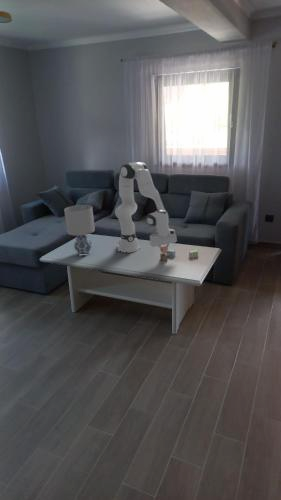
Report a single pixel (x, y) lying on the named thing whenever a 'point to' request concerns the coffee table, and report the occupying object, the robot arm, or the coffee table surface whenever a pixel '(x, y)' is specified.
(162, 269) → the coffee table surface
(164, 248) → the terracotta brick
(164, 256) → the walnut brick
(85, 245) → the lamp
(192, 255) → the olive brick
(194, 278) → the coffee table surface
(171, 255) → the slate blue brick
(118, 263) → the coffee table surface
